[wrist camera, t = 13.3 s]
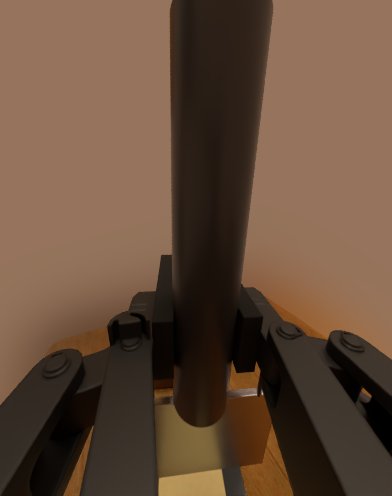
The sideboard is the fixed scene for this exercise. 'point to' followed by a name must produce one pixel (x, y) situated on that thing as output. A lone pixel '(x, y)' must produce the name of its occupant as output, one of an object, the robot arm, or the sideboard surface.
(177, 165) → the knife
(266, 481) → the sideboard surface
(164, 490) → the pale yellow block
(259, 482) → the sideboard surface
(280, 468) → the sideboard surface
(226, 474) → the slate board
